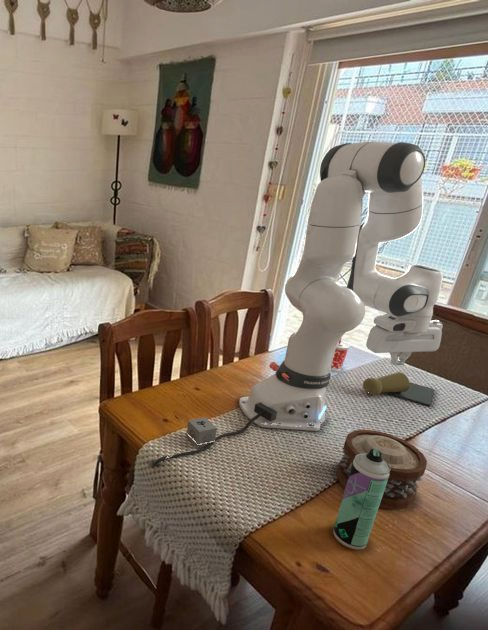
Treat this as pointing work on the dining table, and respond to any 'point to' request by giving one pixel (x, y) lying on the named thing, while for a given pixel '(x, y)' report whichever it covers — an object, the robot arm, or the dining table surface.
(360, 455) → the spray can
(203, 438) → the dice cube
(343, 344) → the beverage cup
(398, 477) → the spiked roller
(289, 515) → the dining table surface
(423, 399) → the plate
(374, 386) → the olive tapered cylinder
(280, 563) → the dining table surface
